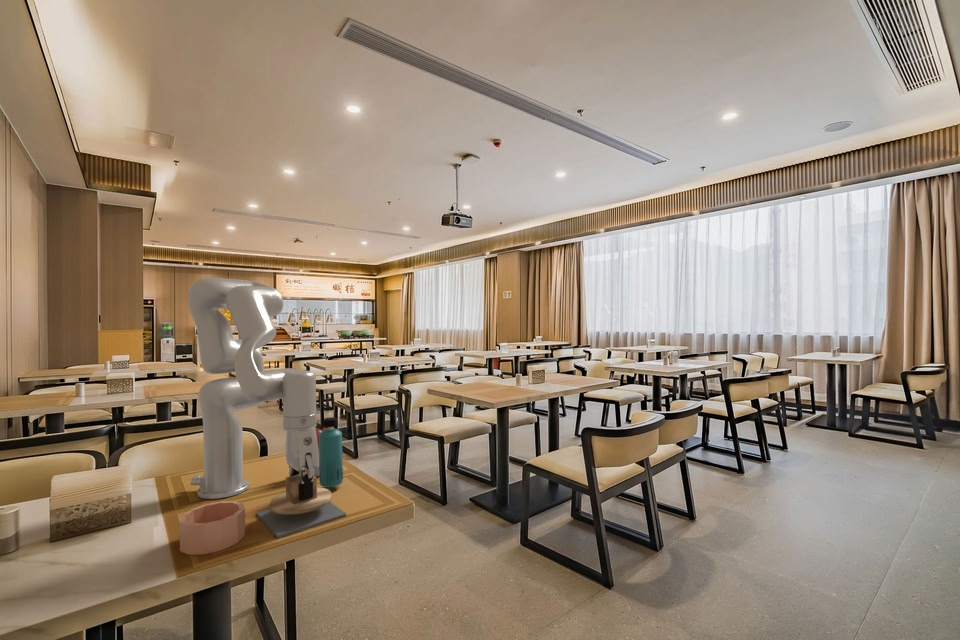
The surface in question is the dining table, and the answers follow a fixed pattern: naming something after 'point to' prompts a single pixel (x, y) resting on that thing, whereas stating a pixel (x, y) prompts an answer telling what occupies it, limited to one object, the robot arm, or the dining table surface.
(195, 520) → the bowl
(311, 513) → the mat
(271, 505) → the lid
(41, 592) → the dining table surface
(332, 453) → the beverage bottle
